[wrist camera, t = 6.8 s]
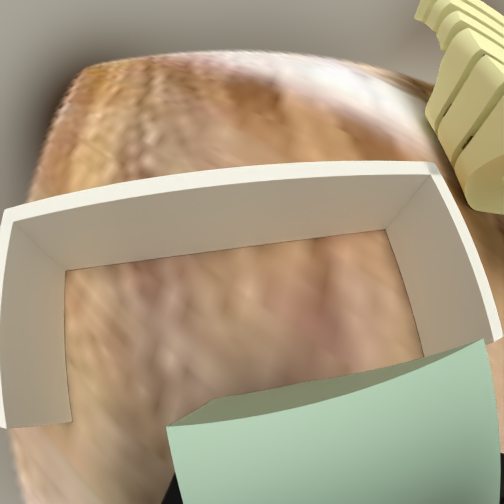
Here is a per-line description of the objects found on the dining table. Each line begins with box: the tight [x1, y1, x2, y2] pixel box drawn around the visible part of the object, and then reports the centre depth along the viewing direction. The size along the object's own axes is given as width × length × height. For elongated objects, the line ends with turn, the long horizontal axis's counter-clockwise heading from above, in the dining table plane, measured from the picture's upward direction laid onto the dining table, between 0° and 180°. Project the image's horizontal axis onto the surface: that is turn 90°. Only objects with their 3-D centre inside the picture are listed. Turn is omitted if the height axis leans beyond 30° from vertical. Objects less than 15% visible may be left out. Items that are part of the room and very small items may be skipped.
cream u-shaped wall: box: [0, 161, 503, 429], centre depth 15 cm, size 12×26×7 cm, turn 100°
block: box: [166, 338, 501, 504], centre depth 8 cm, size 4×4×12 cm
